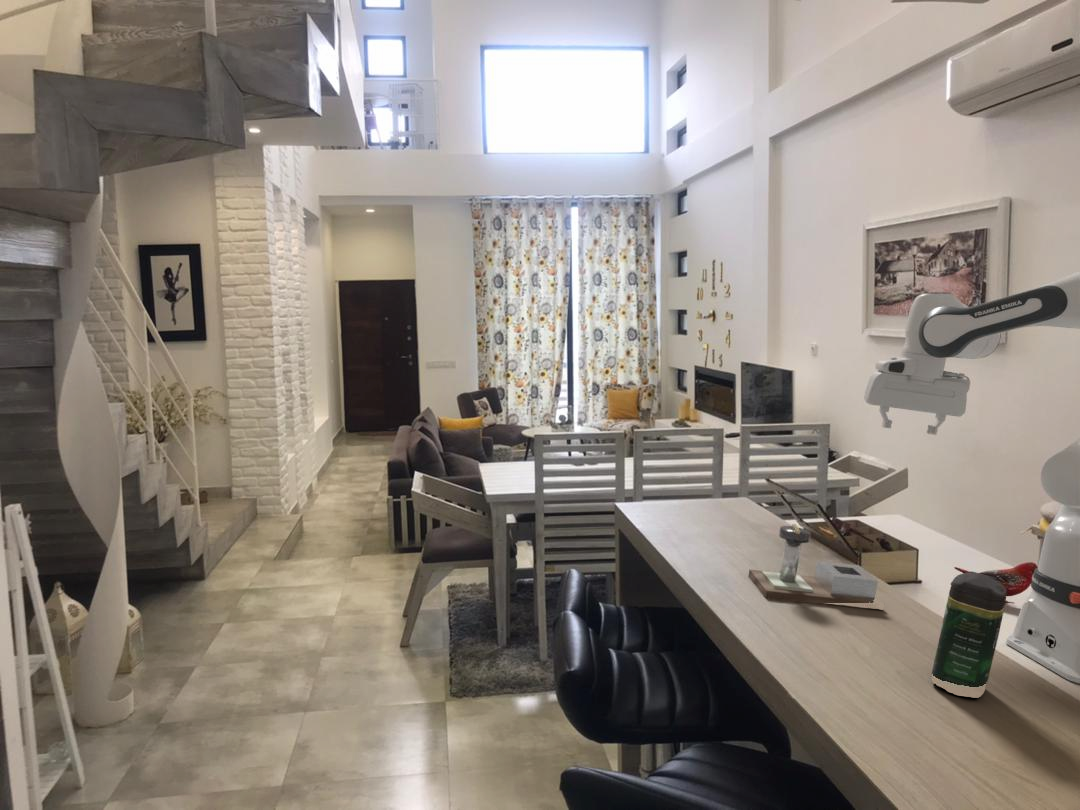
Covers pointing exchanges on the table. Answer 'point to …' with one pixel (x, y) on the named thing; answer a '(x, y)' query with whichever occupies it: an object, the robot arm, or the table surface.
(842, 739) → the table surface
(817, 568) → the grey socket block
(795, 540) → the peg
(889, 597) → the table surface
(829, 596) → the walnut board
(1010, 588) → the decorative bird figurine
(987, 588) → the coffee jar
